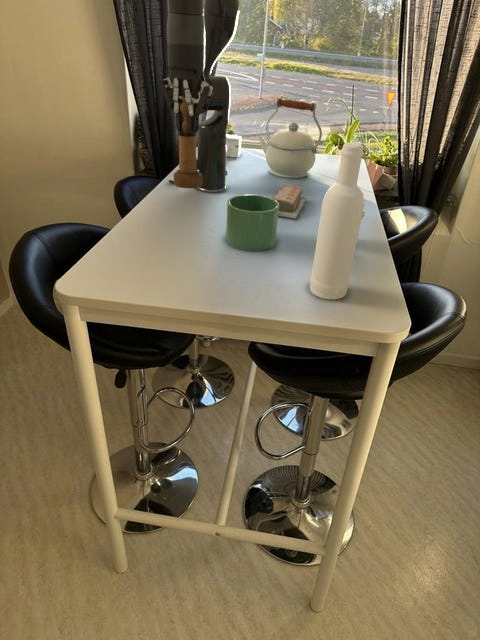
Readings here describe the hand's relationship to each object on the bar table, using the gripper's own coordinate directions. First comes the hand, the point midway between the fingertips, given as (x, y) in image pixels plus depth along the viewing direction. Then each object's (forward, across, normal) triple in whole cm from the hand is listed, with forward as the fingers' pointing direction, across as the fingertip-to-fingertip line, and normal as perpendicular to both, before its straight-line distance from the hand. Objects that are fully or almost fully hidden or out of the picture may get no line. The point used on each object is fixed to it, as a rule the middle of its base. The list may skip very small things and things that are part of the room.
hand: (187, 132), depth 101 cm
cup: (+26, -12, -11) cm, 31 cm away
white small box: (+27, +41, -80) cm, 94 cm away
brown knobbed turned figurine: (+12, 0, 0) cm, 12 cm away
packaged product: (+27, -7, -39) cm, 47 cm away
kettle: (+27, +13, -74) cm, 79 cm away
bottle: (+26, -39, +1) cm, 47 cm away
